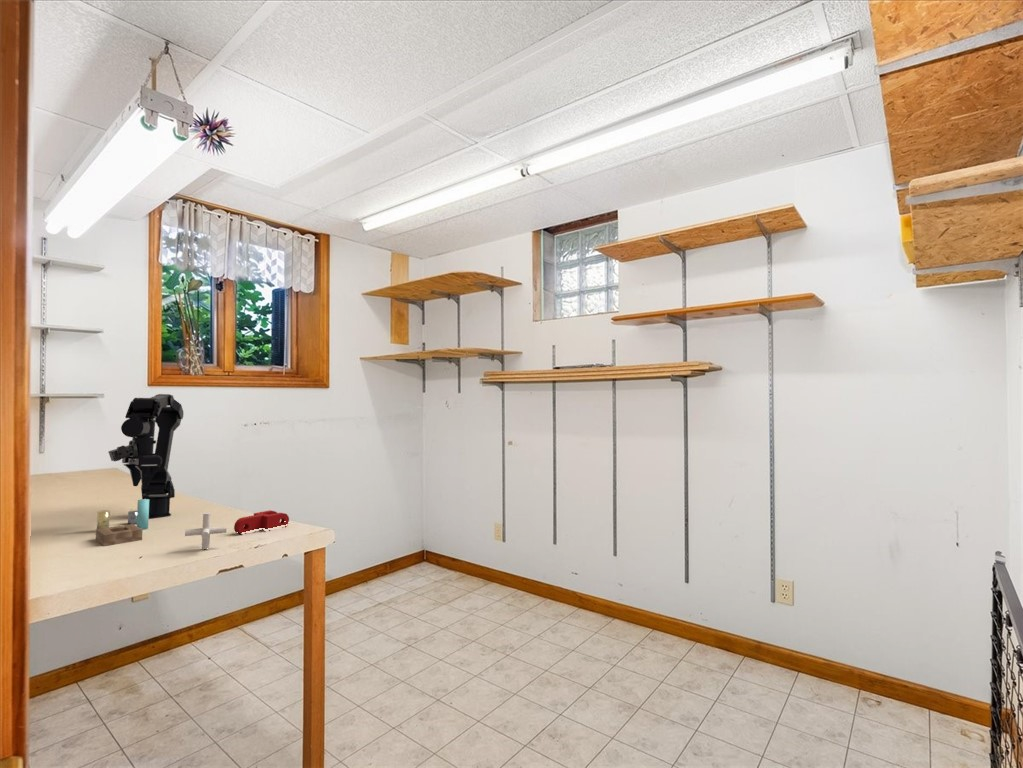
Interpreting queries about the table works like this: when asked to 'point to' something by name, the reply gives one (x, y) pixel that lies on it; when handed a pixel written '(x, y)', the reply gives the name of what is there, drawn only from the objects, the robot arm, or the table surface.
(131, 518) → the pin short
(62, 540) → the table surface
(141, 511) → the pin long
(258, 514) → the mechanical linkage
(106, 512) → the pin medium
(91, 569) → the table surface
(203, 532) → the pipe connector
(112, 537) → the hole block
